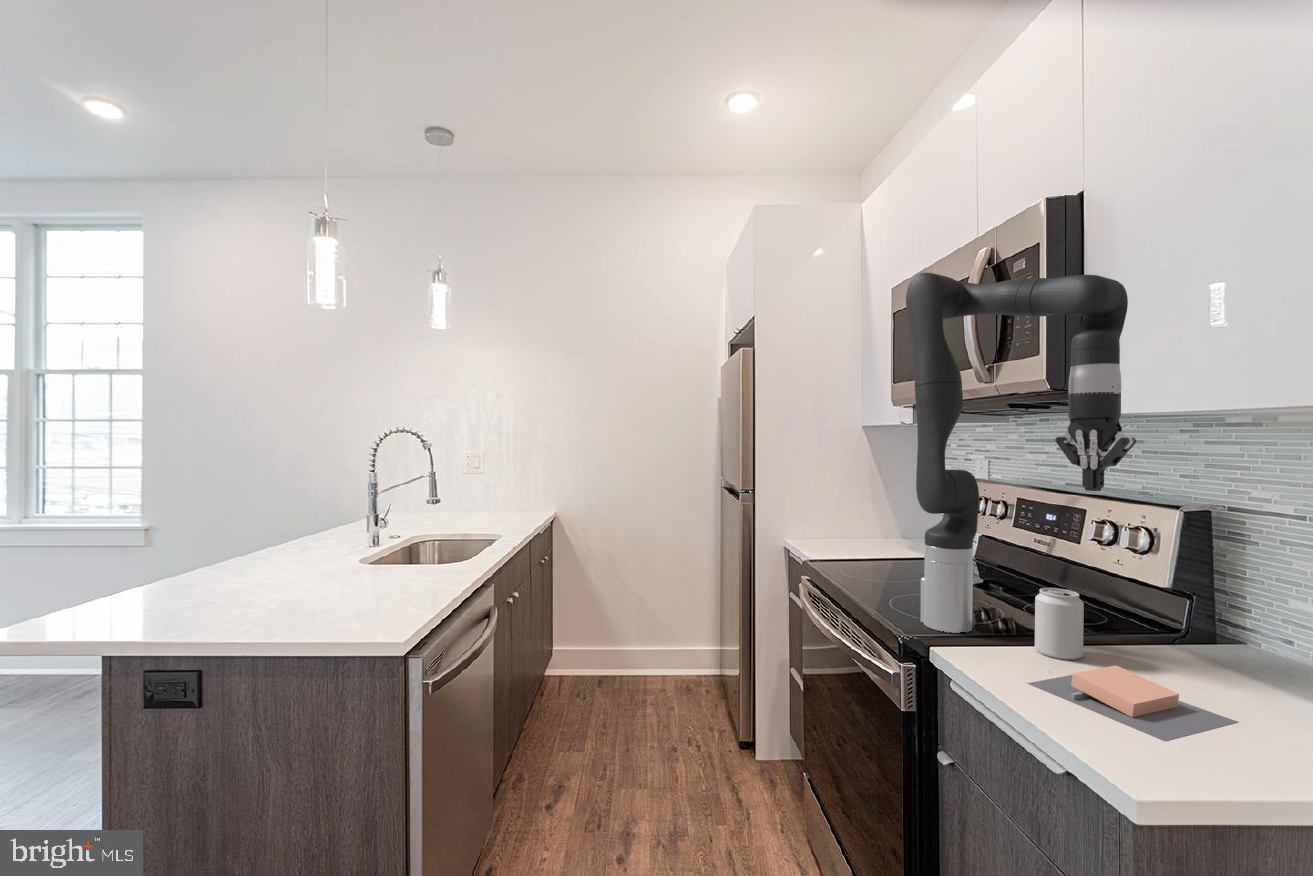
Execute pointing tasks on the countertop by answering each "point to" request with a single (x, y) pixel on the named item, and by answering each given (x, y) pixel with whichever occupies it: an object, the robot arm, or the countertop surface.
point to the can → (1059, 623)
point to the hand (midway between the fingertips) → (1093, 490)
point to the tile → (1125, 690)
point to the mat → (1155, 724)
